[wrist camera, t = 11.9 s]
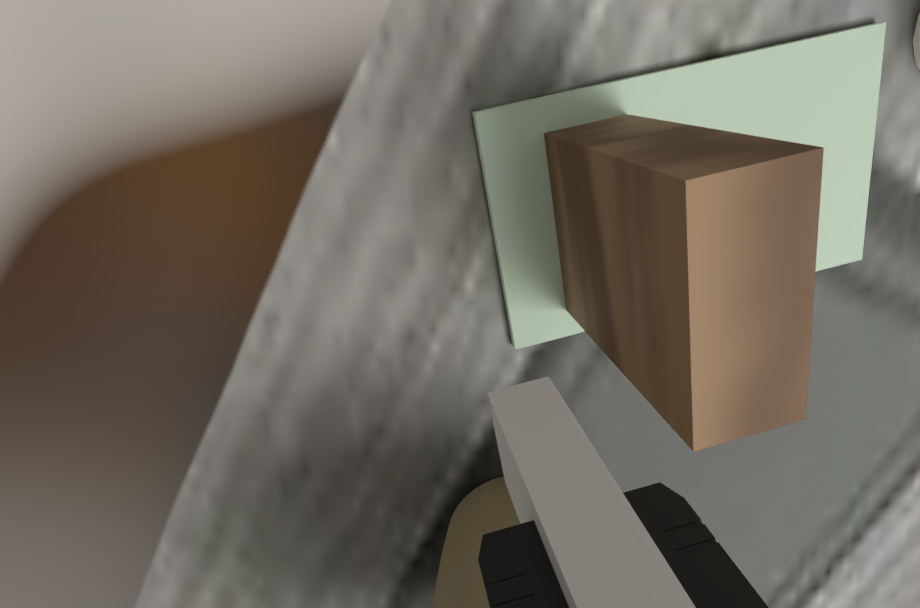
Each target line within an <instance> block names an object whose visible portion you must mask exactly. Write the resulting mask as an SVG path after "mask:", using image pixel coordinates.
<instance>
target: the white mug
mask: <svg viewBox="0 0 920 608" xmlns="http://www.w3.org/2000/svg"><path fill="white" fill-rule="evenodd" d="M913 49H914V58H915V63H916V65H917V67H918V68H919V70H920V13H919V15H918V19H917V23H916V28H915V32H914V37H913Z"/></svg>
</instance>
